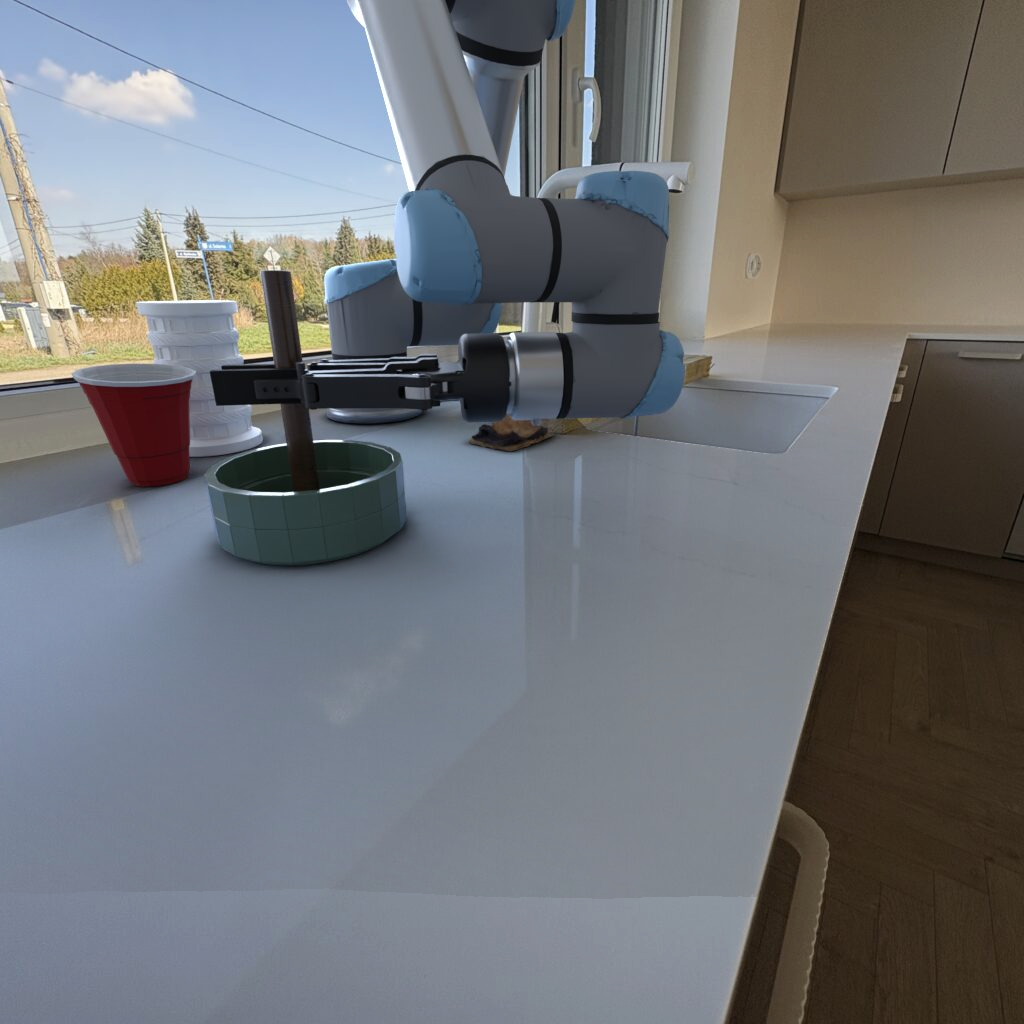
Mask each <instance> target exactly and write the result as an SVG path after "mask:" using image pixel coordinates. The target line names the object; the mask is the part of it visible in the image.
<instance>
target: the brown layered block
mask: <svg viewBox="0 0 1024 1024" xmlns="http://www.w3.org/2000/svg"><path fill="white" fill-rule="evenodd" d="M553 436H554V431H553V430H551V429H549V428H548V427H545V426H543V425H542V424H541V425H540V426H536V425H535V426H534V425H533V424H532V422H531V420H513V419H512V418H511V417H510V416H509V414H506V416H505V418H504V419H502V421H501V422H491V425H490V424H486V423H483V424H481V425H480V426H479V427H478V432H477V433H476V434H474V435H472V436H471V438H470V439H468V442H469V444H471V445H477V446H480V447H484V448H486V447H488V448H490V449H492V450H496V449H497V450H501V451H506V452H510V453H511V452H513V451H517V450H521V449H523V448H525V447H527V448H528V447H529V446H530V445H531V444H537V443H540V442H542V441H543V440H547V439H548V438H551V437H553Z"/></svg>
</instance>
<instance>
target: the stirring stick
mask: <svg viewBox="0 0 1024 1024" xmlns="http://www.w3.org/2000/svg"><path fill="white" fill-rule="evenodd" d="M259 273H260V280H261V286H262V293H263V299H264V306H265V313H266V319H267V326H268V333H269V338H270V345H271V351H272V358H273V364H274V366H275V369H277V368H296V364H295V363H296V362H303V361H304V360H303V354H302V345H301V339H300V331H299V324H298V317H297V310H296V302H295V293H294V286H293V279H292V272H291V270H287V269H286V270H282V269H280V270H277V269H261V270H260V271H259ZM279 405H280V410H281V418H282V424H283V431H284V437H285V442H286V443H285V444H287V451H288V457H289V464H290V471H291V477H292V484H293V490H294V492H299V491H311V490H320V487H319V480H318V472H317V465H316V457H315V450H314V443H313V441H314V438H313V437H314V436H313V435H314V434H313V428H312V421H311V413H310V409H307V408H305V404H301V403H296V404H279Z"/></svg>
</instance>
